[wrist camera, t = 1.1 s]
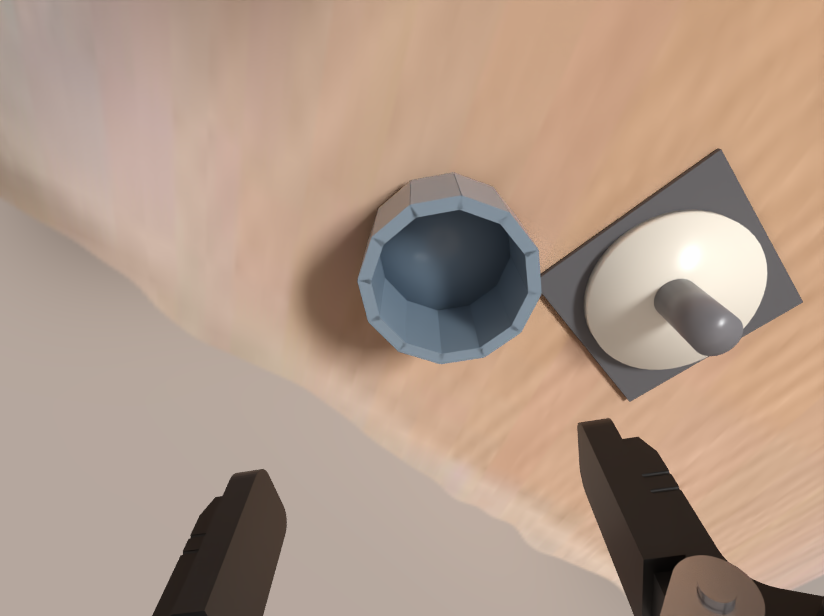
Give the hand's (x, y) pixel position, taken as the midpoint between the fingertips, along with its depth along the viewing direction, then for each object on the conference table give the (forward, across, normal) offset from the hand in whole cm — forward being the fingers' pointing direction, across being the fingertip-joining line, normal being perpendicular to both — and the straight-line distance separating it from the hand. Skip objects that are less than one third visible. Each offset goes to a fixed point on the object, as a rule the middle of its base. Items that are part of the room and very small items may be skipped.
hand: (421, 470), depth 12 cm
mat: (+25, -18, +10) cm, 32 cm away
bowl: (+25, -1, +3) cm, 25 cm away
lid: (+24, -18, +10) cm, 32 cm away
